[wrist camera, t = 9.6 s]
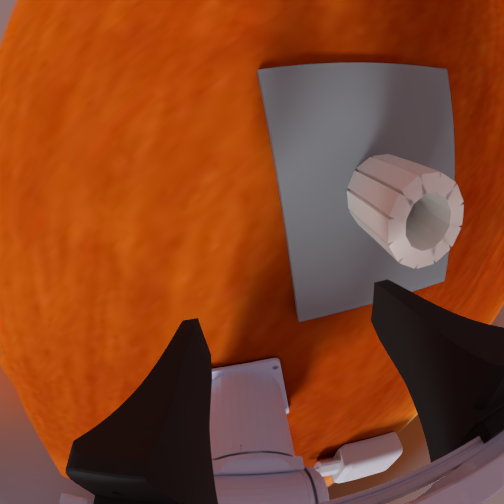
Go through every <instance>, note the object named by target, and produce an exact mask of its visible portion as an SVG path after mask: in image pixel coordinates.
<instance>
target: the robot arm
mask: <svg viewBox="0 0 504 504" xmlns="http://www.w3.org/2000/svg"><path fill="white" fill-rule="evenodd" d="M371 321H372V324H373V326H374V328H375V331H376V333H377V335H378V337H379V340H380V341H381V343H382V345H383V346H384V348H385V350H386V351H387V353H388V355H389V356H390V358H391V359H392V361H393V363H394V364H395V366H396V368H397V369H398V371H399V373H400V374H401V376H402V378H403V380H404V381H405V383H406V385H407V388H408V390H409V392H410V395H411V397H412V399H413V402H414V404H415V407H416V410H417V413H418V415H419V418H420V421H421V424H422V428H423V431H424V434H425V438H426V441H427V446H428V449H429V454H430V459H431V463H430V464H428V465H425V466H423V467H421V468H419V469H417V470H415V471H412V472H410V473H408V474H406V475H403V476H401V477H398V478H396V479H394V480H391V481H388V482H386V483H383V484H381V485H378V486H375V487H372V488H369V489H366V490H364V491H360V492H357V493H354V494H351V495H347V496H344V497H340V498H337V499H333V500H329V494H328V489H327V486H326V483H325V481H324V479H323V477H322V476H321V474H320V473H319V472H317V471H316V470H315V469H314V468H313V467H311V466H304V464H303V459H302V457H301V456H299V457H295V454H294V449H293V444H292V439H291V435H290V430H289V425H288V420H287V415H286V414H287V413H289V407H288V401H287V396H286V391H285V385H284V380H283V375H282V369H281V364H280V360H279V359H278V358H270V359H265V360H260V361H255V362H250V363H244V364H238V365H232V366H226V367H220V368H214V369H212V366H211V354H210V351H209V349H208V346H207V343H206V340H205V338H204V335H203V332H202V329H201V326H200V323H199V321H198V318H197V319H191V320H184V321H182V323H181V324H180V326H179V328H178V329H177V331H176V333H175V335H174V336H173V338H172V340H171V341H170V343H169V345H168V346H167V348H166V350H165V351H164V353H163V354H162V356H161V357H160V359H159V361H158V362H157V363H156V365H155V366H154V368H153V369H152V370H151V372H150V373H149V375H148V376H147V377H146V379H145V380H144V381H143V382H142V384H141V385H140V386H139V387H138V388H137V389H136V391H135V392H134V393H133V394H132V395H131V396H130V397H129V398H128V399H127V400H126V401H125V402H124V403H123V404H122V405H121V406H120V407H119V408H118V409H117V410H116V411H115V412H113V413H112V414H111V415H110V416H109V417H108V418H106V419H105V420H104V421H102V422H101V423H100V424H99V425H97V426H96V427H94V428H93V429H92V430H90V431H89V432H87V433H85V434H84V435H82V436H81V437H79V438H78V439H76V440H74V442H73V445H72V448H71V452H70V455H69V459H68V463H67V467H66V474H67V475H68V476H69V478H70V479H71V480H73V481H74V482H75V483H77V484H78V485H80V486H81V487H83V488H84V489H86V490H88V491H89V492H91V493H92V494H94V495H95V499H94V501H91V500H89V499H85V498H82V497H77V496H74V495H70V494H66V493H62V494H61V498H60V503H59V504H385V503H388V502H390V501H393V500H395V499H398V498H400V497H403V496H405V495H407V494H410V493H412V492H414V491H416V490H418V489H420V488H422V487H425V486H427V485H429V484H431V483H432V482H435V481H437V480H439V479H440V478H442V477H443V478H442V479H440V480H439V481H437V482H436V483H434V484H433V485H432V487H431V488H430V489H429V490H428V491H426V492H425V493H424V494H422V495H421V496H420V497H418V498H417V499H415V500H412V501H410V502H408V503H405V504H483V503H484V502H485V501H487V500H488V499H490V498H491V497H492V496H494V495H495V494H496V493H498V492H499V491H500V490H501V489H502V488H504V328H502V327H497V326H493V325H488V324H485V323H481V322H477V321H474V320H471V319H468V318H465V317H463V316H460V315H457V314H455V313H452V312H450V311H448V310H446V309H444V308H441V307H439V306H437V305H435V304H433V303H431V302H429V301H427V300H425V299H423V298H422V297H420V296H418V295H416V294H414V293H412V292H411V291H409V290H407V289H405V288H403V287H401V286H400V285H398V284H396V283H394V282H392V281H390V280H388V279H386V280H382V281H378V282H374V294H373V307H372V317H371ZM274 366H275V367H274ZM446 475H447V476H446ZM444 476H445V477H444Z"/></svg>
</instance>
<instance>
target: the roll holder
mask: <svg viewBox="0 0 504 504" xmlns="http://www.w3.org/2000/svg"><path fill="white" fill-rule="evenodd" d="M257 75H258V80H259V85H260V90H261V95H262V100H263V105H264V111H265V116H266V121H267V127H268V132H269V138H270V143H271V149H272V154H273V160H274V166H275V172H276V178H277V184H278V190H279V196H280V202H281V208H282V215H283V221H284V228H285V234H286V241H287V248H288V255H289V262H290V269H291V276H292V283H293V291H294V299H295V306H296V314H297V318H298V321H299V322H302V321H307V320H311V319H315V318H319V317H323V316H327V315H331V314H335V313H339V312H343V311H347V310H350V309H354V308H358V307H362V306H365V305H369V304H372V303H373V294H374V282H378V281H382V280H386V279H388V280H390V281H392V282H394V283H396V284H398V285H400V286H401V287H403V288H405V289H407V290H409V291H411V292H412V291H415V290H419V289H422V288H425V287H428V286H431V285H434V284H437V283H440V282H443V281H444V280H445V274H446V268H447V262H448V255H449V251H448V252H447V253H446V254H445V255H444V256H443V257H442V258H441V259H439V260H438V261H437V262H435V261H434V264H432V265H429V266H425V267H422V268H419V269H417V268H416V267H415V269H413V268H411V267H408V266H405V265H402V264H400V263H399V262H397V261H396V260H395V259H394V258H393V257H392V256H391V255H390V254H389V253H388V252H387V251H386V250H385V249H384V248H383V247H382V246H381V245H380V244H379V243H378V242H377V241H376V240H374V239H373V238H372V237H371V236H370V235H369V234H368V233H367V232H366V231H365V230H364V229H363V228H361V227H360V226H359V225H358V224H357V222H356V221H355V219H354V218H353V216H352V215H351V213H350V212H349V211H350V210H349V209H348V199H347V191H348V190H350V189H349V188H347V187H348V185H349V183H350V180H351V178H352V175H353V173H354V171H357V172H359V171H358V170H357V167H358V166H359V165H361V164H362V163H363V162H364V161H366V160H367V159H368V158H369V157H372V158H373V156H375V155H384V154H390V155H394V156H397V157H400V158H403V159H406V160H409V161H412V162H415V163H418V164H421V165H423V166H426V167H429V168H432V169H434V170H437V171H439V172H442V173H444V174H445V175H446V176H448V177H449V178H451V179H452V180H453V181H455V145H454V125H453V112H452V102H451V93H450V86H449V79H448V72H447V69H442V68H435V67H427V66H417V65H406V64H392V63H361V62H350V63H319V64H304V65H292V66H283V67H274V68H266V69H259V70H258V71H257ZM449 247H450V245H449Z"/></svg>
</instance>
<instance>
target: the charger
mask: <svg viewBox="0 0 504 504" xmlns="http://www.w3.org/2000/svg"><path fill="white" fill-rule="evenodd" d="M402 451H403V448H402V445H401V443H400V441H399V438H398V436H397V434H396V432H391V433H387V434H384V435H380V436H377V437H373V438H369V439H365V440H361V441H357V442H353V443H348V444H345V445H343V446H342V447H341V448H339V449H338V450H337V452H336V454H335V455H334V457H333V459H328V460H323V461H318V462H316V464H315V466H314V469H315V470H316V471H317V472H319V473H320V474H321V476H322V477H324V476H329V475H331V476H332V480H333V482H336V483H343V482H346V481H351V480H355V479H358V478H362V477H365V476H369V475H372V474H376V473H379V472H382V471H385V470H387V469H388V468H389V467H390V465H392V464H393V463H394V461H395V460H396V459H397V458H398V457H399V456H400V455H401V453H402Z"/></svg>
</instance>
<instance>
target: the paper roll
mask: <svg viewBox="0 0 504 504" xmlns="http://www.w3.org/2000/svg"><path fill="white" fill-rule="evenodd" d="M357 170H358V171H359V172H357V171H354V173H353V175H352V178H351V180H350V183H349V185H348V187H347V188H349V189H350V190H348V191H347V199H348V209H349V210H350V211H349V212H350V213H351V215H352V216H353V218H354V219H355V221H356V222H357V224H358V225H359V226H360V227H361V228H363V229H364V230H365V231H366V232H367V233H368V234H369V235H370V236H371V237H372V238H373V239H374V240H376V241H377V242H378V243H379V244H380V245H381V246H382V247H383V248H384V249H385V250H386V251H387V252H388V253H389V254H390V255H391V256H392V257H393V258H394V259H395V260H396V261H397V262H399V263H400V264H402V265H405V266H408V267H411V268H413V269H415V267H416V268H417V269H419V268H422V267H425V266H429V265H432V264H434V261H435V262H437V261H438V260H439V259H441V258H442V257H443V256H444V255H445V254H446V253H447V252H448V251H449V250H450V247H449V245H450V246H453V244H454V242H455V240H456V238H457V236H458V234H459V232H460V230H461V228H460V227H459V226H460V225H462V222H463V211H464V205H463V204H462V203H463V202H464V201H463V199H462V196H461V193H460V190H459V187H458V185H457V184H455V183H456V182H455V181H453V180H452V179H451V178H449V177H448V176H446V175H445V174H444V173H442V172H439V171H437V170H434V169H432V168H429V167H426V166H423V165H421V164H418V163H415V162H412V161H409V160H406V159H403V158H400V157H397V156H394V155H390V154H384V155H375V156H373V158H372V157H369V158H368V159H367V160H366V161H364V162H363V163H362V164H361V165H359V166H358V167H357Z"/></svg>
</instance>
